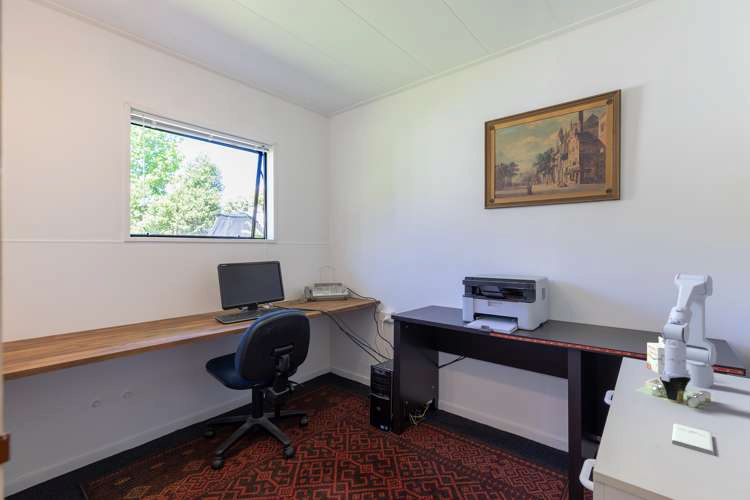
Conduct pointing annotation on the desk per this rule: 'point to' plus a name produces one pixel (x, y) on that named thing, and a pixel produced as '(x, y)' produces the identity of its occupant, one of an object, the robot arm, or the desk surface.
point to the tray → (653, 382)
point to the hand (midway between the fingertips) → (675, 398)
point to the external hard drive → (692, 439)
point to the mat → (687, 393)
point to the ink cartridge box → (656, 356)
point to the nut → (678, 397)
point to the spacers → (691, 400)
